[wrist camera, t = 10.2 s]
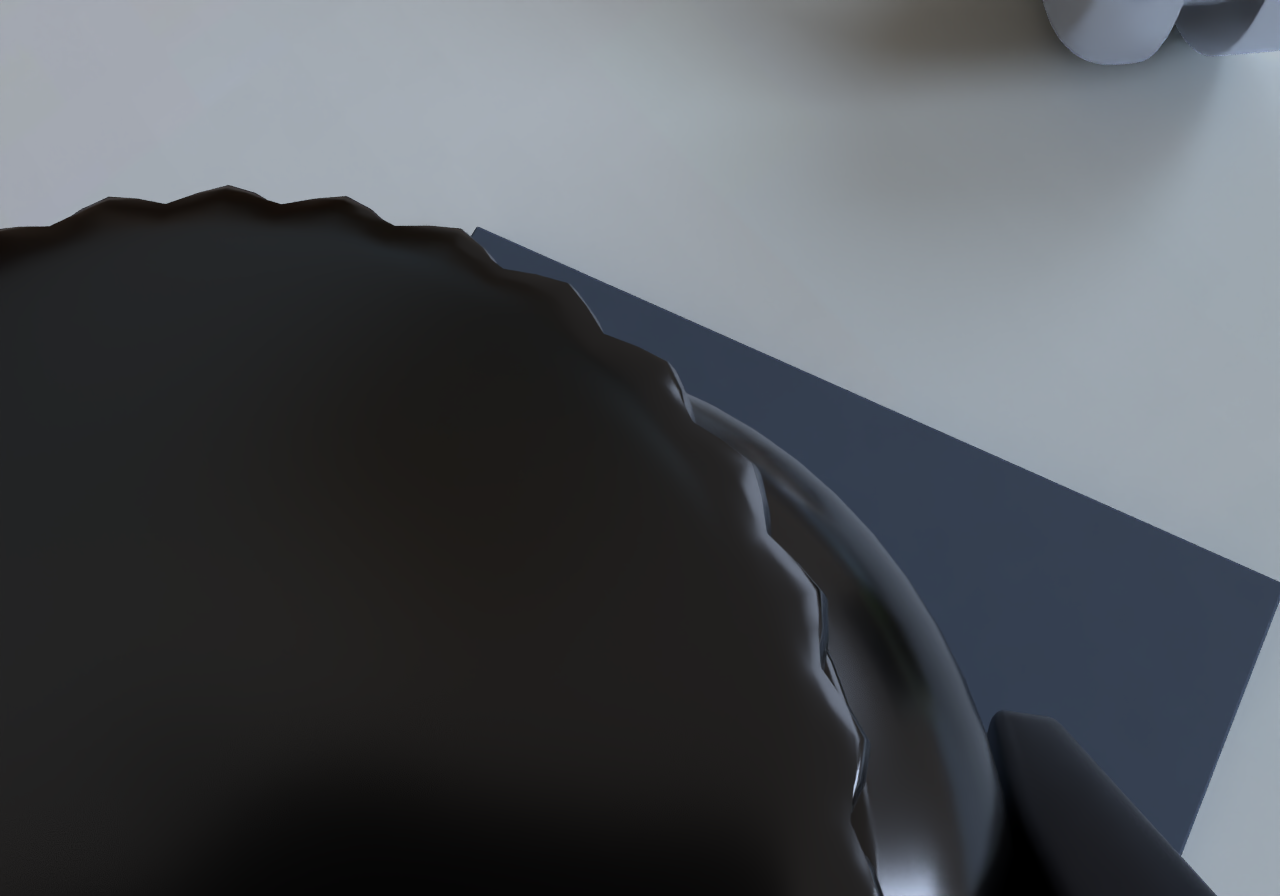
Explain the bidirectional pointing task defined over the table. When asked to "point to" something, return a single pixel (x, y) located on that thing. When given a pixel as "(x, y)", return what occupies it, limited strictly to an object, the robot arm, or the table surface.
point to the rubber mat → (1001, 562)
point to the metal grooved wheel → (1163, 27)
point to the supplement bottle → (431, 592)
